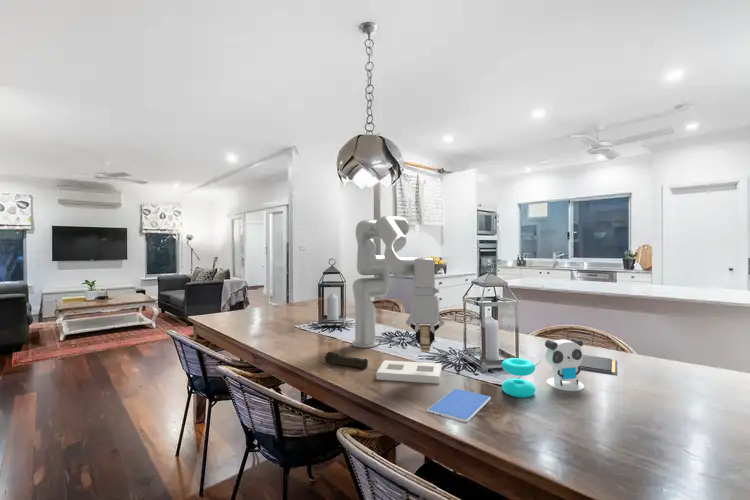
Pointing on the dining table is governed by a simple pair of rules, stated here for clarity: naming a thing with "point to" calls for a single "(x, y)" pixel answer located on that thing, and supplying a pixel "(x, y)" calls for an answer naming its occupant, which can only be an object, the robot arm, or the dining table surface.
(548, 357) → the panda figurine
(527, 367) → the donuts
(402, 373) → the hole board
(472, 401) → the tablet computer
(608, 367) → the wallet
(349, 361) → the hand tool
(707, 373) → the dining table surface
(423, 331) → the oak peg
